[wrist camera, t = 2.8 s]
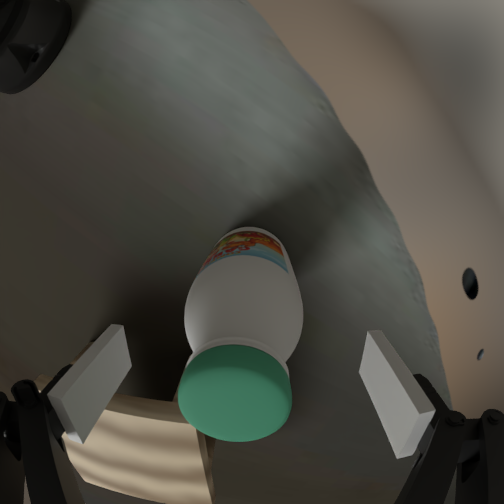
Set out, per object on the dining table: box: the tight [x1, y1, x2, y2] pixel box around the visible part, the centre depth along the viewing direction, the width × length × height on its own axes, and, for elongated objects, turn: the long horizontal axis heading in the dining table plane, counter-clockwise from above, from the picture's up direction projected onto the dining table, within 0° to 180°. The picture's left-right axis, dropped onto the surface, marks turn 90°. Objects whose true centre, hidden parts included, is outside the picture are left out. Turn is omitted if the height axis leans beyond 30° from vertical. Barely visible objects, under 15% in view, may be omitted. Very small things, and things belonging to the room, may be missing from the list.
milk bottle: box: [178, 227, 303, 442], centre depth 20 cm, size 8×8×20 cm
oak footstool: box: [34, 342, 216, 504], centre depth 29 cm, size 18×18×12 cm
